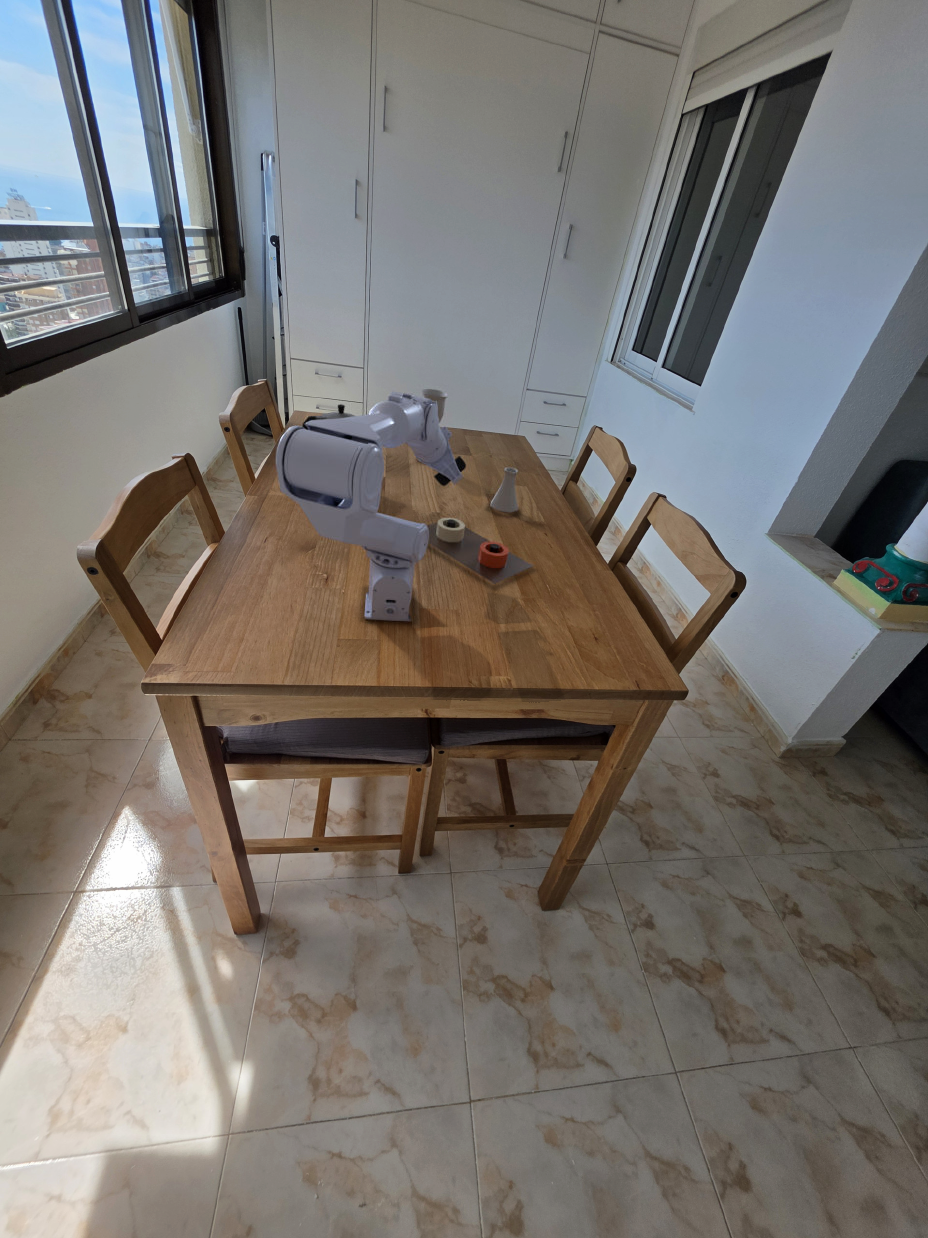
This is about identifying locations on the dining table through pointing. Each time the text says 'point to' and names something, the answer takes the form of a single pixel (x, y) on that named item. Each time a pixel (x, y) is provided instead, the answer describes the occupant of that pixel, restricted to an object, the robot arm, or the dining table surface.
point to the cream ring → (450, 530)
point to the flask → (506, 493)
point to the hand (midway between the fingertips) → (440, 460)
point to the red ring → (493, 555)
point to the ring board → (476, 554)
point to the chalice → (436, 399)
